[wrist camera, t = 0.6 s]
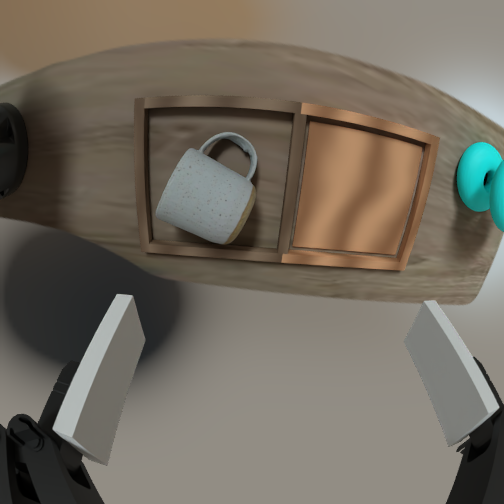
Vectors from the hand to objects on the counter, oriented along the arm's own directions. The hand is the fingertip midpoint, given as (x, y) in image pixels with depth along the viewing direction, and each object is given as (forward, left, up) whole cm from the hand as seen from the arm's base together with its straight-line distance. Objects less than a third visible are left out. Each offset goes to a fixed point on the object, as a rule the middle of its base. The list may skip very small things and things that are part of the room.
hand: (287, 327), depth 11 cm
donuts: (+24, +18, -22) cm, 37 cm away
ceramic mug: (-6, -2, -22) cm, 22 cm away
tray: (+2, +1, -21) cm, 21 cm away
